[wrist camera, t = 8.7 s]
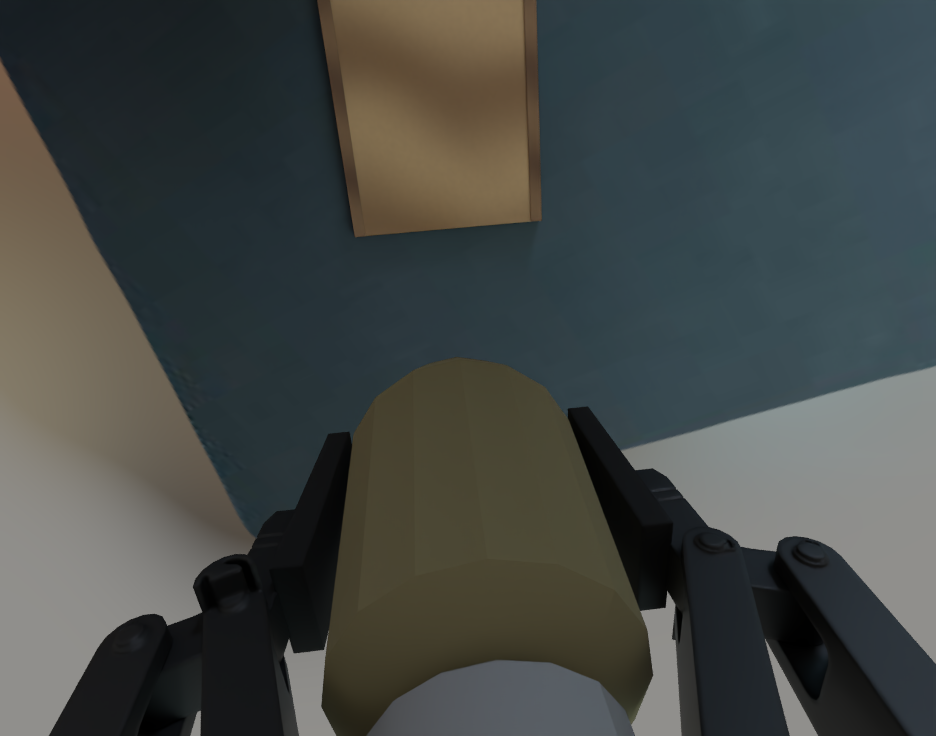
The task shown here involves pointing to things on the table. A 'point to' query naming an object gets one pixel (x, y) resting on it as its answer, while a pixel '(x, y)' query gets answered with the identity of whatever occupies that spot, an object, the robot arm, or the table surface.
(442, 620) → the squeeze bottle
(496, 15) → the brown flat rectangular board
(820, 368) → the table surface
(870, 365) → the table surface
